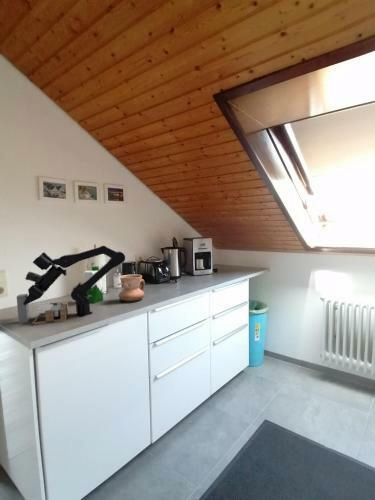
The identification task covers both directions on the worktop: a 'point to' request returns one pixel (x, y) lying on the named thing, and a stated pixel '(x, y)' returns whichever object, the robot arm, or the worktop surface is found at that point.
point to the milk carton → (94, 286)
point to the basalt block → (22, 309)
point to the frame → (50, 315)
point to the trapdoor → (49, 308)
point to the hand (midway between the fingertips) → (26, 302)
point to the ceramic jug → (131, 287)
